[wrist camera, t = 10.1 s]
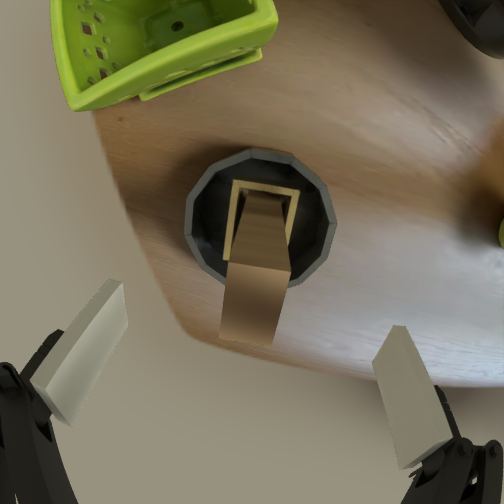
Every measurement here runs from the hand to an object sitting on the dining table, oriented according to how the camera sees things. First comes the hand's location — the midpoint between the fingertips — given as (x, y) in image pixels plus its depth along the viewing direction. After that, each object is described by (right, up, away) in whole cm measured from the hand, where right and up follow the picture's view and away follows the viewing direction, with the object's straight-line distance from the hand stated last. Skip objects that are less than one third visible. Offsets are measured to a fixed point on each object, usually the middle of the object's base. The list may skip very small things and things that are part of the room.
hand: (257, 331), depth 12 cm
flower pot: (-7, +25, +8) cm, 27 cm away
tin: (+1, +7, +16) cm, 17 cm away
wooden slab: (+1, +7, +15) cm, 17 cm away
